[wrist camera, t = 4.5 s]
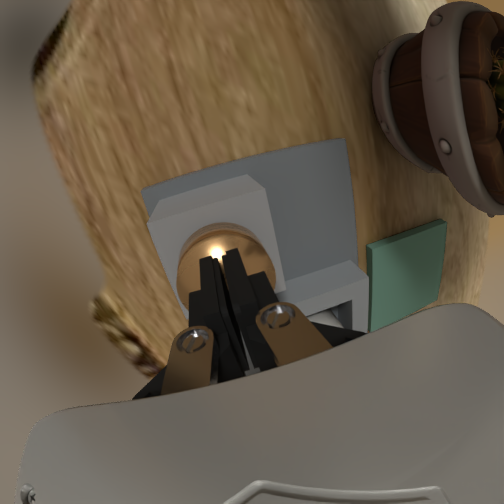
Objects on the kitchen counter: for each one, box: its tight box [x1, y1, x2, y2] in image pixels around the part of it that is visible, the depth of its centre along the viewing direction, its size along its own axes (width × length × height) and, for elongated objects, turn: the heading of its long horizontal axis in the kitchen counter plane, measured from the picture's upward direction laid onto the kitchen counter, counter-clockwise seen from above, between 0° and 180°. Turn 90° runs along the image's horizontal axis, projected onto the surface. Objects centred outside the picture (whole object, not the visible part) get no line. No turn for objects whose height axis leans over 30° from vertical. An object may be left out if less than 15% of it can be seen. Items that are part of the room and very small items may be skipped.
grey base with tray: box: [141, 138, 369, 376], centre depth 20 cm, size 20×14×6 cm
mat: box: [366, 219, 447, 332], centre depth 25 cm, size 10×10×1 cm
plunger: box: [176, 222, 276, 311], centre depth 15 cm, size 4×4×6 cm
